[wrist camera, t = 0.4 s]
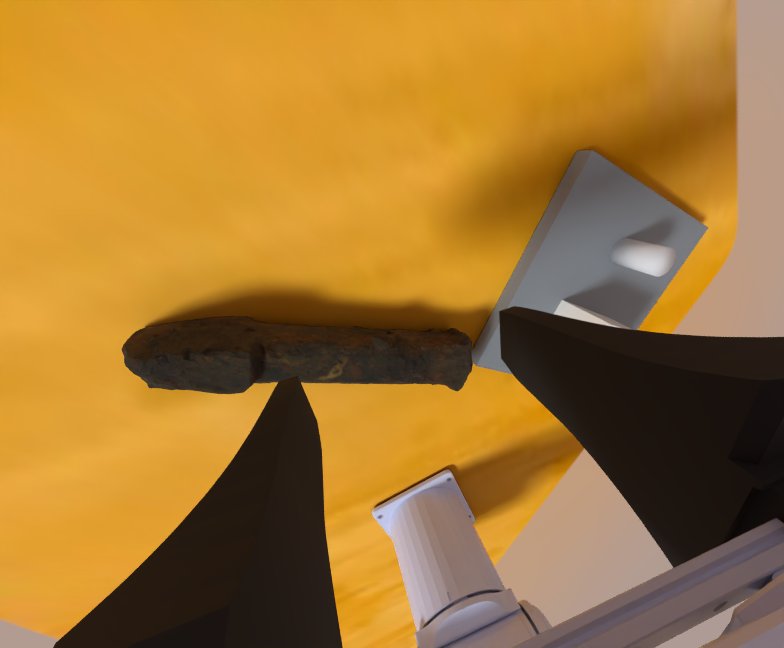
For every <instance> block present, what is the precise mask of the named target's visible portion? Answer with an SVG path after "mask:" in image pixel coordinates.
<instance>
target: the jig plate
mask: <svg viewBox="0 0 784 648" xmlns="http://www.w3.org/2000/svg"><path fill="white" fill-rule="evenodd" d="M707 229H708V227H706V226H705V225H703V224H702V223H700V222H699V221H697V220H696V219H694V218H693V217H691V216H690V215H688V214H687V213H686V212H684V211H683V210H681V209H680V208H678V207H677V206H675V205H674V204H672V203H671V202H669V201H668V200H666V199H665V198H663V197H662V196H660V195H659V194H657V193H656V192H654V191H653V190H651V189H650V188H648V187H647V186H645V185H644V184H643V183H641V182H640V181H638V180H637V179H635V178H634V177H632V176H631V175H629V174H628V173H626V172H625V171H623V170H622V169H620V168H619V167H617V166H616V165H614V164H613V163H611V162H610V161H608V160H607V159H605V158H604V157H602V156H601V155H599V154H598V153H597V152H595V151H594V150H581V151H577V152H576V154H575V156H574V157H573V159H572V161H571V163H570V165H569V167H568V169H567V171H566V173H565V175H564V176H563V178H562V180H561V182H560V184H559V186H558V188H557V190H556V192H555V194H554V196H553V197H552V199H551V201H550V203H549V205H548V207H547V209H546V211H545V213H544V215H543V216H542V218H541V220H540V222H539V224H538V226H537V228H536V230H535V232H534V234H533V236H532V237H531V239H530V241H529V243H528V245H527V247H526V249H525V251H524V253H523V255H522V256H521V258H520V260H519V262H518V264H517V266H516V268H515V270H514V272H513V274H512V276H511V277H510V279H509V281H508V283H507V285H506V287H505V289H504V291H503V293H502V295H501V296H500V298H499V300H498V302H497V304H496V306H495V308H494V310H493V312H492V314H491V316H490V317H489V319H488V321H487V323H486V325H485V327H484V329H483V331H482V333H481V335H480V336H479V338H478V340H477V342H476V344H475V346H474V348H473V350H472V352H471V354H472V362H473V363H474V364H475V365H476V366H479V367H484V368H488V369H492V370H497V371H501V372H505V373H510V374H513V373H512V372H511V371H510V370H509V368H508V367H507V366H506V364H505V363H504V362H503V360H502V359H501V347H500V322H499V311H501V310H504V309H507V308H510V307H513V306H517V307H524V308H529V309H534V310H538V311H543V312H547V313H551V314H554V312H555V311H556V309H557V307H558V306H559V304H560V302H561V301H562V300H564V301H567V302H569V303H572V304H575V305H577V306H580V307H582V308H585V309H588V310H590V311H593V312H596V313H598V314H601V315H604V316H606V317H608V318H610V319H613V320H615V321H617V322H619V323H621V324H623V325H625V326H627V327H629V328H631V329H633V330H637V329H638V328H639V326H640V325H641V323H642V322H643V320H644V319H645V318H646V316H647V315H648V313H649V312H650V310H651V309H652V308H653V306H654V305H655V303H656V302H657V300H658V299H659V298H660V296H661V295H662V293H663V292H664V290H665V289H666V288H667V286H668V285H669V283H670V282H671V280H672V279H673V278H674V276H675V275H676V273H677V272H678V270H679V269H680V268H681V266H682V265H683V263H684V262H685V260H686V259H687V258H688V256H689V255H690V253H691V252H692V250H693V249H694V248H695V246H696V245H697V243H698V242H699V240H700V239H701V238H702V236H703V235H704V233H705V232H706V230H707Z"/></svg>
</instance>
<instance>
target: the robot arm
mask: <svg viewBox="0 0 784 648" xmlns="http://www.w3.org/2000/svg"><path fill="white" fill-rule="evenodd" d="M499 322H500V347H501V359H502V360H503V362H504V363H505V364H506V366H507V367H508V368H509V370H510V371H511V372H512V373H513V375H514V376H515V377H516V378H517V380H518V381H519V382H520V383H521V384H522V385H523V386H524V387H525V388H526V389H527V390H528V391H529V392H530V393H531V394H533V395H534V396H535V397H536V398H537V399H538V400H539V401H540V402H541V403H542V404H543V405H544V406H545V407H546V408H547V409H548V410H549V411H550V412H551V413H552V414H553V415H554V416H555V417H556V418H557V419H558V420H559V421H560V422H562V423H563V424H564V426H565V427H566V428H567V429H568V430H569V431H570V432H571V433H572V434H573V435H574V436H575V437H576V439H577V440H578V441H579V442H580V443H581V444H582V446H583V447H584V448H585V449H586V450H587V452H588V453H589V454H590V455H591V456H592V457H593V459H594V460H595V461H596V462H597V464H598V465H599V466H600V467H601V469H602V470H603V471H604V472H605V474H606V475H607V476H608V477H609V479H610V480H611V481H612V482H613V484H614V485H615V486H616V488H617V489H618V490H619V491H620V493H621V494H622V496H623V497H624V498H625V499H626V501H627V502H628V504H629V505H630V506H631V508H632V509H633V510H634V512H635V513H636V514H637V516H638V517H639V518H640V520H641V521H642V522H643V524H644V525H645V527H646V528H647V530H648V531H649V532H650V534H651V535H652V537H653V538H654V539H655V541H656V543H657V544H658V545H659V547H660V548H661V550H662V551H663V552H664V554H665V555H666V557H667V558H668V560H669V561H670V563H671V564H672V566H673V569H671V570H669V571H667V572H665V573H663V574H660V575H659V576H656V577H654V578H652V579H650V580H648V581H646V582H644V583H642V584H640V585H638V586H636V587H634V588H632V589H630V590H628V591H626V592H624V593H622V594H620V595H618V596H616V597H613V598H612V599H609V600H607V601H606V602H603V603H601V604H599V605H597V606H595V607H593V608H591V609H589V610H587V611H585V612H583V613H581V614H579V615H577V616H575V617H573V618H571V619H569V620H567V621H564V622H562V623H560V624H558V625H556V626H554V627H552V626H551V624H550V623H549V621H548V620H547V619H546V617H545V616H544V614H543V613H542V612H541V611H540V610H539V609H538V608H537V607H535V606H533V605H532V604H530V603H529V602H528V601H526V600H522V601H519V602H517V599H516V598H515V596H514V594H513V592H512V590H511V589H507V590H506V589H505V587H504V585H503V584H502V582H501V580H500V578H499V575H498V574H497V572H496V569H495V568H494V565H493V563H492V561H491V559H490V557H489V555H488V553H487V551H486V549H485V547H484V545H483V543H482V541H481V539H480V537H479V535H478V533H477V531H476V529H475V527H474V525H473V523H474V522H475V518H474V516H473V514H472V512H471V510H470V508H469V506H468V504H467V502H466V500H465V498H464V496H463V494H462V492H461V490H460V488H459V486H458V484H457V482H456V480H455V478H454V476H453V474H452V472H451V471H450V470H444V471H442V472H440V473H438V474H437V475H435V476H433V477H431V478H429V479H427V480H425V481H424V482H422V483H420V484H418V485H416V486H414V487H413V488H411V489H409V490H407V491H405V492H403V493H401V494H400V495H398V496H396V497H394V498H392V499H390V500H388V501H387V502H385V503H383V504H381V505H379V506H377V507H375V508H374V509H373V510H372V515H373V517H374V518H375V519H376V521H377V522H378V523H379V524H380V525H381V527H382V528H383V529H384V530H385V531H386V533H387V534H388V535H389V536H390V537H391V539H392V540H393V543H394V547H395V551H396V555H397V558H398V562H399V566H400V570H401V573H402V577H403V581H404V585H405V589H406V592H407V596H408V600H409V604H410V607H411V611H412V615H413V619H414V622H415V626H416V630H417V632H416V633H415V638H416V642H417V646H418V648H655V647H656V646H658V645H660V644H662V643H664V642H666V641H668V640H670V639H672V638H673V637H675V636H677V635H679V634H681V633H683V632H685V631H687V630H688V629H690V628H692V627H694V626H696V625H698V624H700V623H702V622H704V621H706V620H708V619H709V618H711V617H713V616H715V615H717V614H719V613H721V612H723V611H725V610H726V609H728V608H730V607H732V606H734V605H736V604H738V603H740V602H742V601H744V600H745V599H747V598H748V599H747V600H746V601H744V602H743V603H742V604H740V605H739V606H738V607H736V608H735V609H734V612H733V615H732V618H731V621H730V623H729V624H728V626H727V627H726V628H725V630H724V631H723V633H722V634H721V636H720V637H719V638H717V639H715V640H713V641H711V642H709V643H707V644H705V645H703V646H701V647H699V648H784V337H761V338H760V337H711V336H709V337H708V336H692V335H678V334H666V333H656V332H647V331H640V330H632V329H625V328H618V327H613V326H607V325H602V324H596V323H591V322H587V321H582V320H577V319H573V318H568V317H564V316H560V315H555V314H551V313H547V312H543V311H538V310H534V309H529V308H524V307H517V306H513V307H510V308H507V309H504V310H501V311H499ZM749 597H750V598H749ZM53 648H343V647H342V641H341V635H340V629H339V622H338V616H337V610H336V603H335V597H334V590H333V583H332V576H331V569H330V562H329V555H328V547H327V540H326V532H325V520H324V495H323V468H322V448H321V441H320V435H319V429H318V424H317V420H316V418H315V415H314V413H313V410H312V408H311V406H310V403H309V401H308V399H307V396H306V394H305V392H304V389H303V387H302V385H301V382H300V380H299V377H298V376H295V377H291V378H288V379H285V380H282V381H279V382H278V384H277V386H276V387H275V389H274V391H273V393H272V395H271V396H270V398H269V400H268V402H267V404H266V406H265V408H264V409H263V411H262V413H261V415H260V416H259V418H258V420H257V422H256V423H255V425H254V427H253V429H252V430H251V432H250V434H249V435H248V437H247V438H246V440H245V441H244V443H243V445H242V446H241V448H240V449H239V451H238V452H237V454H236V455H235V457H234V458H233V460H232V461H231V463H230V464H229V465H228V467H227V468H226V469H225V471H224V472H223V473H222V475H221V476H220V477H219V479H218V480H217V481H216V482H215V484H214V485H213V486H212V488H211V489H210V490H209V491H208V492H207V494H206V495H205V496H204V497H203V498H202V500H201V501H200V502H199V503H198V504H197V505H196V506H195V508H194V509H193V510H192V511H191V512H190V513H189V514H188V516H187V517H186V518H185V519H184V520H183V521H182V522H181V524H180V525H179V526H178V527H177V528H176V529H175V530H174V531H173V532H172V533H171V535H170V536H169V537H168V538H167V539H166V540H165V541H164V542H163V543H162V544H161V545H160V546H159V547H158V548H157V549H156V550H155V551H154V552H153V553H152V554H151V555H150V556H149V557H148V558H147V559H146V560H145V561H144V562H143V563H142V564H141V565H140V566H139V567H138V568H137V569H136V570H135V571H134V572H133V573H132V574H131V575H130V576H129V577H128V578H127V579H126V580H125V581H124V582H123V583H122V584H120V585H119V586H118V587H117V588H116V589H115V590H114V591H113V592H112V593H111V594H110V595H109V596H107V597H106V598H105V599H104V600H103V601H102V602H101V603H100V604H99V605H98V606H96V607H95V608H94V609H93V610H92V611H91V612H90V613H89V614H88V615H87V616H85V617H84V618H83V619H82V620H81V621H80V622H79V623H78V624H77V625H76V626H74V627H73V628H72V629H71V630H70V631H69V632H68V633H67V634H65V635H64V636H63V637H62V638H61V639H60V640H59V641H58V642H56V644H55V645H54V647H53Z"/></svg>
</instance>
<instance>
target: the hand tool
mask: <svg viewBox="0 0 784 648" xmlns="http://www.w3.org/2000/svg"><path fill="white" fill-rule="evenodd" d="M471 345H472V342H471V340H470V338H469V337H468V336H467V335H466V334H465V333H463V332H459V331H458V330H457V329H454V328H451V329H449V330H447V331H446V332H444V333H442V332H440V331H438V330H435V329H431V328H430V329H428V331H427V332H411V331H407V330H395V329H392V330H389V331H388V330H371V329H363V328H361V327H357V326H356V327H353V328H343V327H320V326H305V325H288V324H272V323H263V322H259V321H255V320H253V319H252V318H251V317H213V318H204V319H195V320H187V321H180V322H173V323H167V324H163V325H158V326H152V327H146V328H143V329H140V330H138V331H136V332H135V333H134V334H133V335H132V336H131V337H130V338H129V339H128V340H127V341H126V342H125V344H124V345H123V347H122V352H123V354H124V357H125V358H124V362H125V365H126V367H128V368H129V370H130V371H132V372H133V373H134V374H135V375H137V376H139V377H141V379H142V380H144V381H145V382H146V383H147V384H148V387H149V388H161V389H168V390H175V389H178V390H193V391H201V392H208V393H216V394H235V393H243V392H245V391H246V390H247V389H248V388H249V387H251V386H252V385H253V383H270V382H279V381H282V380H285V379H288V378H291V377H295V376H298V377H299V380H300V382H303V383H343V384H370V383H371V384H413V383H417V384H432V385H433V384H434V385H435V384H440V385H446V386H448V387H449V388H450V389H452V390H455V391H459V390H460V389H461V388H462V387H463V385H464V383H465V381H466V380H467V377H468V375H469V373H471V370H472V364H473V362H472V354H471Z"/></svg>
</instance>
